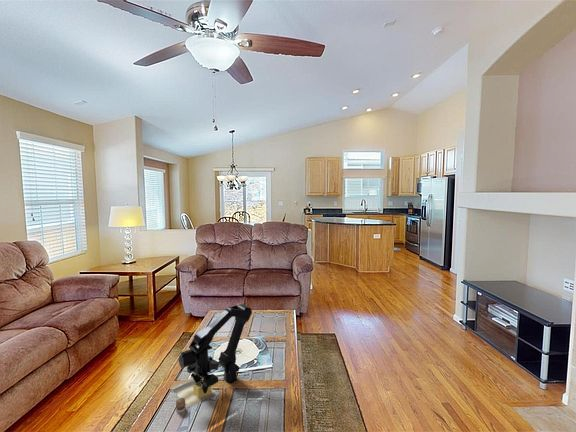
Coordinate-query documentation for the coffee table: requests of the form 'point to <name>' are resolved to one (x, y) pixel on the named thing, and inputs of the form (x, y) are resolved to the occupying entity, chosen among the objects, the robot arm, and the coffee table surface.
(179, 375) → the coffee table surface
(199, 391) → the block
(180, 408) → the peg
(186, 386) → the plywood panel
